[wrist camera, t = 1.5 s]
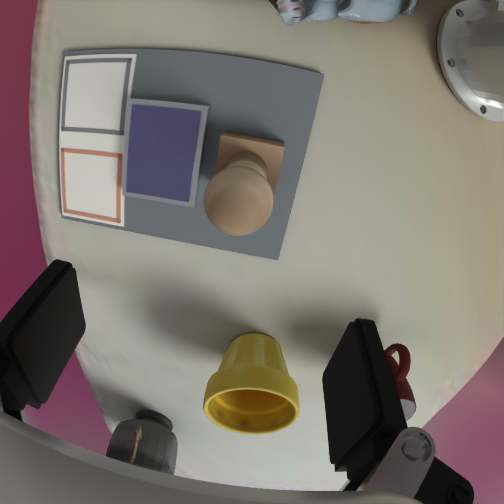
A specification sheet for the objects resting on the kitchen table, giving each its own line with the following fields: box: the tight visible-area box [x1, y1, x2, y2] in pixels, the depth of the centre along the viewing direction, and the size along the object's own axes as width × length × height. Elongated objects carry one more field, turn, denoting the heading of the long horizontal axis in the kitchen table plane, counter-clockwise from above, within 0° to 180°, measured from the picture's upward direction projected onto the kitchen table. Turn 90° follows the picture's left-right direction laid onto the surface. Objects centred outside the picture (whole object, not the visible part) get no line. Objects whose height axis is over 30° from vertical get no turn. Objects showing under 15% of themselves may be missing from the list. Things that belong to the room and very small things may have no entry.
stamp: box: [203, 130, 285, 236], centre depth 22 cm, size 5×5×11 cm
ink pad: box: [122, 97, 212, 208], centre depth 26 cm, size 9×7×2 cm
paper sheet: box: [59, 54, 137, 227], centre depth 26 cm, size 17×8×1 cm, turn 170°
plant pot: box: [203, 333, 299, 434], centre depth 35 cm, size 10×10×10 cm
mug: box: [384, 343, 416, 421], centre depth 34 cm, size 11×8×10 cm
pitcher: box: [106, 410, 177, 475], centre depth 38 cm, size 11×19×30 cm, turn 171°
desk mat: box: [58, 49, 324, 260], centre depth 27 cm, size 18×24×1 cm
